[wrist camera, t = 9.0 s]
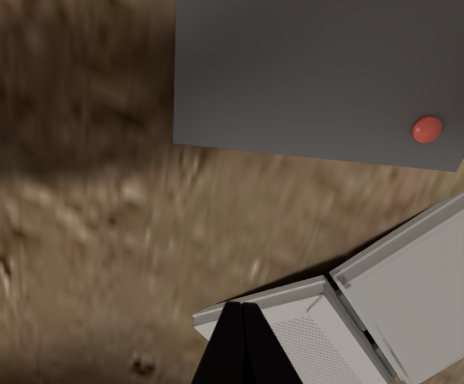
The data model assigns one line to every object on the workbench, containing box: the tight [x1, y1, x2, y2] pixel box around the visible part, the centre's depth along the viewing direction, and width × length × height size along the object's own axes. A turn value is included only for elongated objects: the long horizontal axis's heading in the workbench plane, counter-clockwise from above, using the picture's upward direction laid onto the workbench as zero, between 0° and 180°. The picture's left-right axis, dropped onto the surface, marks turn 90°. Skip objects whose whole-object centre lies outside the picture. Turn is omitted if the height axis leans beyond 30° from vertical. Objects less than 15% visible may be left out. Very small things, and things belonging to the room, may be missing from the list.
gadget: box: [192, 191, 464, 384], centre depth 26 cm, size 23×15×4 cm, turn 123°
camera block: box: [173, 0, 464, 172], centre depth 15 cm, size 15×9×4 cm, turn 83°
